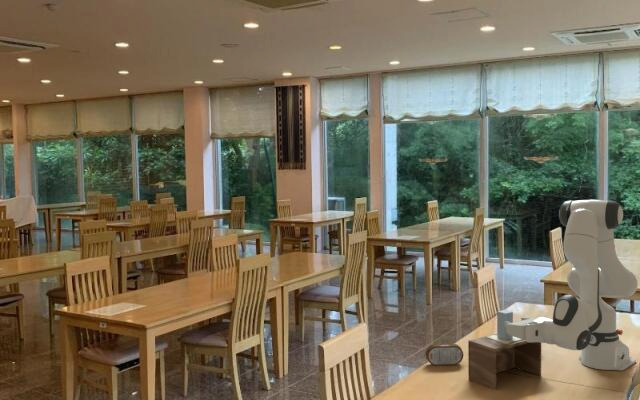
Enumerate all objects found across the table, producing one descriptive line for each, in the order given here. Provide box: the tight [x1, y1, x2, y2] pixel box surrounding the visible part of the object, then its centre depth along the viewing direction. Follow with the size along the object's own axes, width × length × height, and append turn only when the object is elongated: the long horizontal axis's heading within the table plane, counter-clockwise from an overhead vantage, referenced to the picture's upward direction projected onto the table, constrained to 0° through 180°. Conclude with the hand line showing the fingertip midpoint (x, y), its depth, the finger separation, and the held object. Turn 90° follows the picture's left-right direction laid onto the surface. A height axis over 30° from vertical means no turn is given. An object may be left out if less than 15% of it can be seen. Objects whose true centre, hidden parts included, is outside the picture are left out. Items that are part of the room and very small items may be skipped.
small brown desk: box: [467, 333, 542, 391], centre depth 240 cm, size 26×13×15 cm, turn 123°
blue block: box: [496, 309, 514, 340], centre depth 239 cm, size 4×4×10 cm
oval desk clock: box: [425, 343, 464, 366], centre depth 256 cm, size 15×3×8 cm, turn 92°
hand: (513, 321), depth 235 cm, fingers open, 8 cm apart
